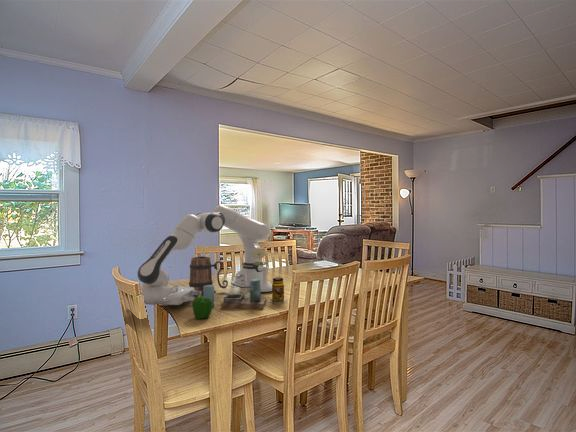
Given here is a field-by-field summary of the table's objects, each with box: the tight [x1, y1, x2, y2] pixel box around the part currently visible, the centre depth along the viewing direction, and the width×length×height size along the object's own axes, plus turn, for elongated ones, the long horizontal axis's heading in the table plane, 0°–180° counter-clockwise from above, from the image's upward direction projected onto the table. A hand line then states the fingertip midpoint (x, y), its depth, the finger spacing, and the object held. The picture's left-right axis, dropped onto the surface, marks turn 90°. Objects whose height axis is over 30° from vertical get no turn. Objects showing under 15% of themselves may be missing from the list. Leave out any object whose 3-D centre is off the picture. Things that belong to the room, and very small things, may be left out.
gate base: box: [220, 279, 267, 310], centre depth 162 cm, size 20×10×12 cm, turn 86°
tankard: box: [188, 256, 229, 298], centre depth 189 cm, size 24×17×20 cm
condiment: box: [266, 276, 288, 305], centre depth 170 cm, size 7×8×12 cm
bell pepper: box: [192, 295, 213, 320], centre depth 144 cm, size 8×8×10 cm
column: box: [202, 284, 215, 309], centre depth 160 cm, size 5×5×10 cm
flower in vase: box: [252, 247, 272, 293], centre depth 191 cm, size 13×11×25 cm
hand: (197, 295), depth 161 cm, fingers open, 8 cm apart
